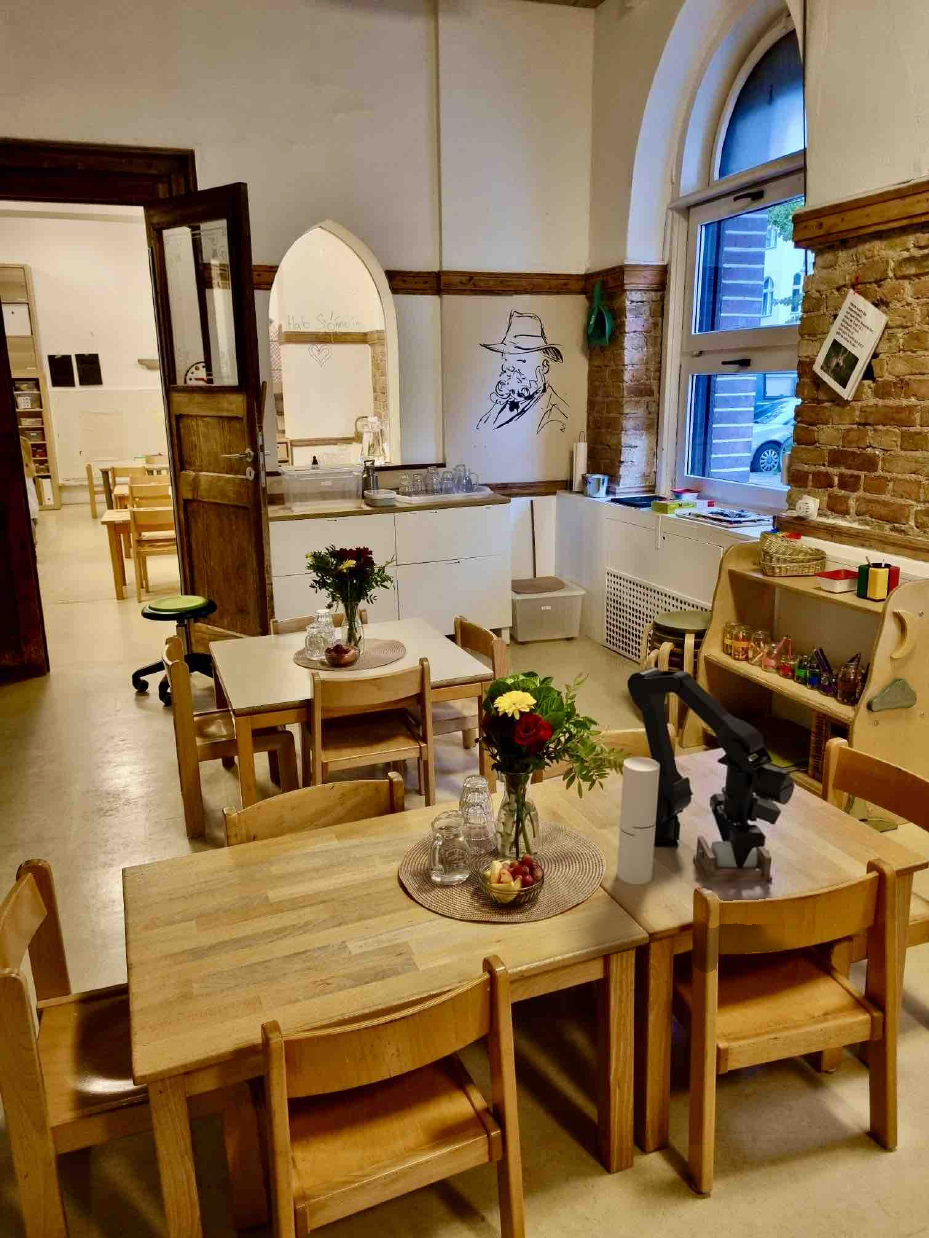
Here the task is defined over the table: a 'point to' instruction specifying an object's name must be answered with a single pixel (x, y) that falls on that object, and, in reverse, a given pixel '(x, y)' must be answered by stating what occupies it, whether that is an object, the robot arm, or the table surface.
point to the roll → (730, 856)
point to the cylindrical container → (638, 820)
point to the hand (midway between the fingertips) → (732, 856)
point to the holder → (710, 874)
